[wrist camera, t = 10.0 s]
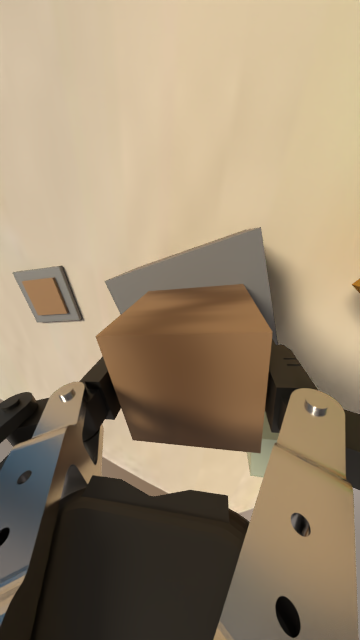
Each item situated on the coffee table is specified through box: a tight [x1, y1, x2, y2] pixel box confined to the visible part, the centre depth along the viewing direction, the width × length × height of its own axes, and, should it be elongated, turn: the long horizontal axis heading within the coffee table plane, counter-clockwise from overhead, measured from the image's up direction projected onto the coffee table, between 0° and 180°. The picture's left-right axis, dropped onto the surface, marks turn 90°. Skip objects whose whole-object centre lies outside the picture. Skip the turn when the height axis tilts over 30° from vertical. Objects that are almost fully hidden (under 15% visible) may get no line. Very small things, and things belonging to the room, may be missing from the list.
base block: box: [105, 227, 278, 345], centre depth 15 cm, size 10×10×6 cm
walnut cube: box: [96, 284, 273, 453], centre depth 10 cm, size 6×6×6 cm
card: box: [13, 266, 82, 322], centre depth 20 cm, size 6×6×1 cm
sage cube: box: [247, 412, 279, 477], centre depth 19 cm, size 6×6×6 cm
